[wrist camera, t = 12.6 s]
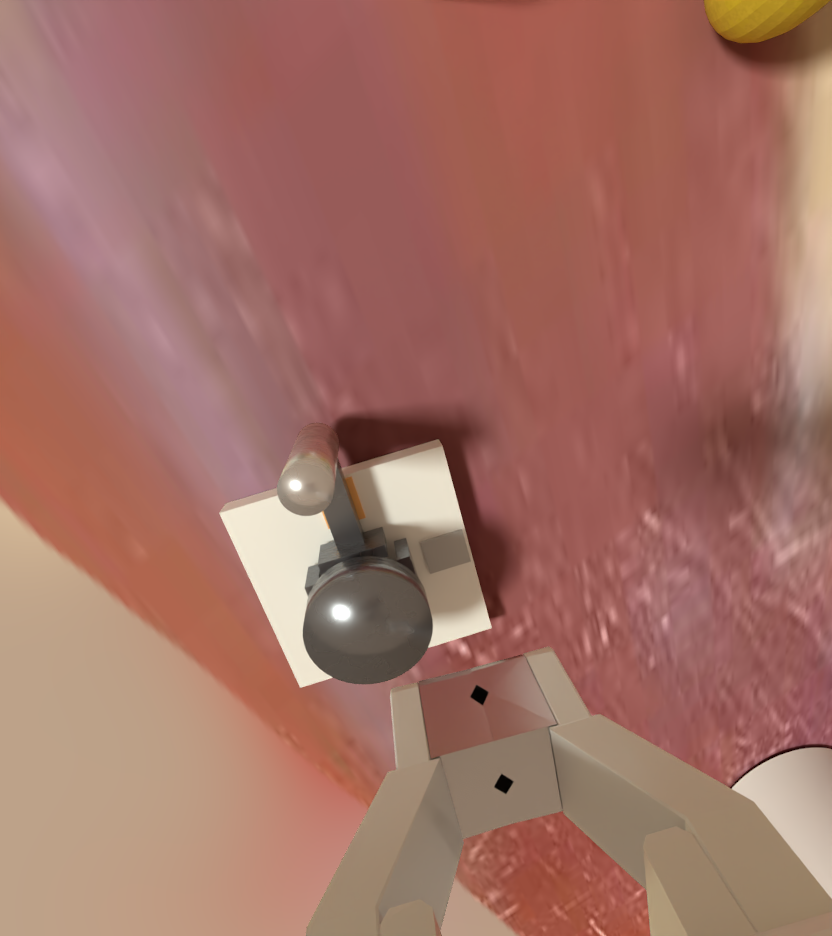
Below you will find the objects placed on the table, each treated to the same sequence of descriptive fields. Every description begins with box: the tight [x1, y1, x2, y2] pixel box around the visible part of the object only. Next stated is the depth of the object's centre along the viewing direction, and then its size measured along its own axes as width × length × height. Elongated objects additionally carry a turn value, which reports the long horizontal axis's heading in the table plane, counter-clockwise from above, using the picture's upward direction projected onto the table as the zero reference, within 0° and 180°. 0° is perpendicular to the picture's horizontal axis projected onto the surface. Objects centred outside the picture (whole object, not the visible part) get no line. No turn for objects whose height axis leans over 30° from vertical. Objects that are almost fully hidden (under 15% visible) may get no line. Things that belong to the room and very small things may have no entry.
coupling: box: [277, 423, 433, 684], centre depth 27 cm, size 7×14×8 cm, turn 15°
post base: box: [220, 439, 492, 688], centre depth 31 cm, size 14×14×5 cm
